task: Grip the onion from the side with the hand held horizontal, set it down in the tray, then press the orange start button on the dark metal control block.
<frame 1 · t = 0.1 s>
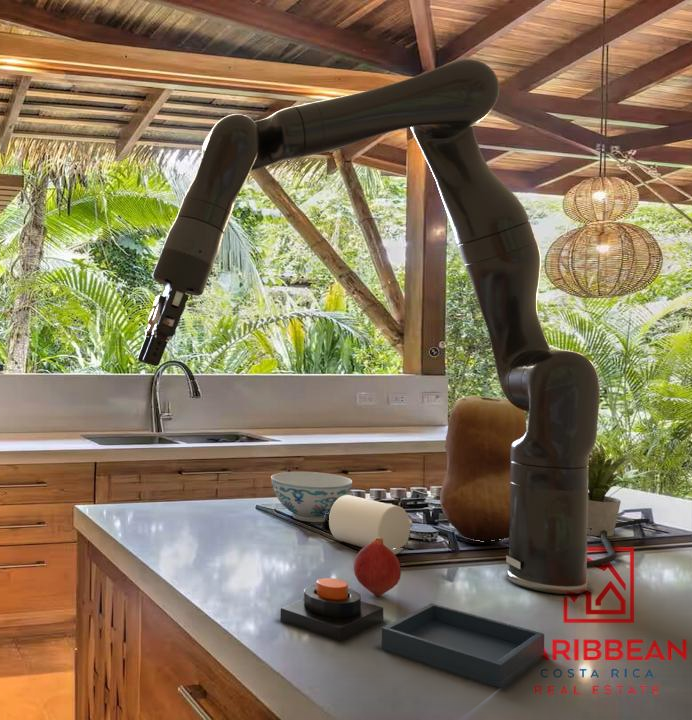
hand: (146, 363, 104), 31 cm above the table, tool tilted 20°, fingers open, 8 cm apart
mug: (376, 547, 123), on the table
tray: (462, 652, 81), on the table
onion: (376, 597, 99), on the table
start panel: (331, 621, 90), on the table
house plant: (602, 535, 130), on the table
butternut squash: (481, 542, 126), on the table
chinaware: (310, 518, 143), on the table
start button: (332, 589, 90), point 4 cm above the table, slide at 0.1 cm
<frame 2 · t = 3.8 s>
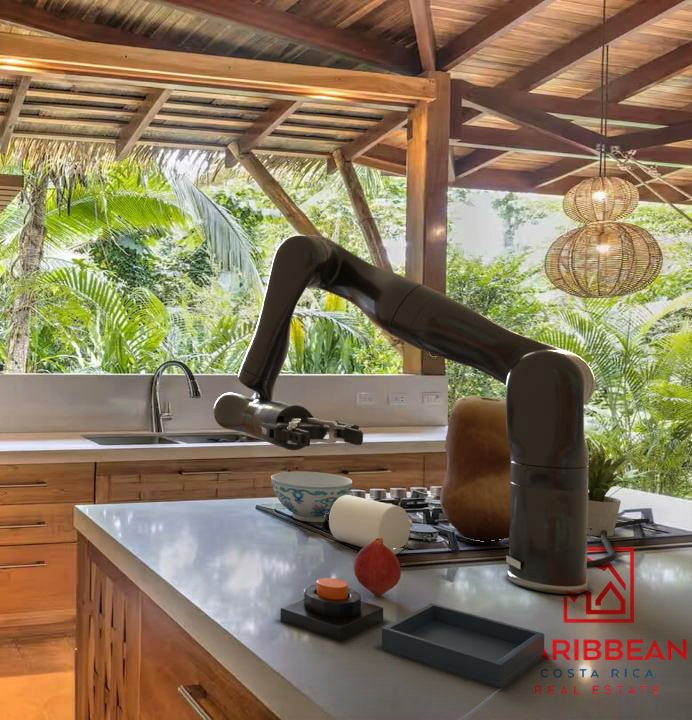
hand: (334, 438, 109), 20 cm above the table, tool horizontal, fingers open, 8 cm apart
nothing on the table moved.
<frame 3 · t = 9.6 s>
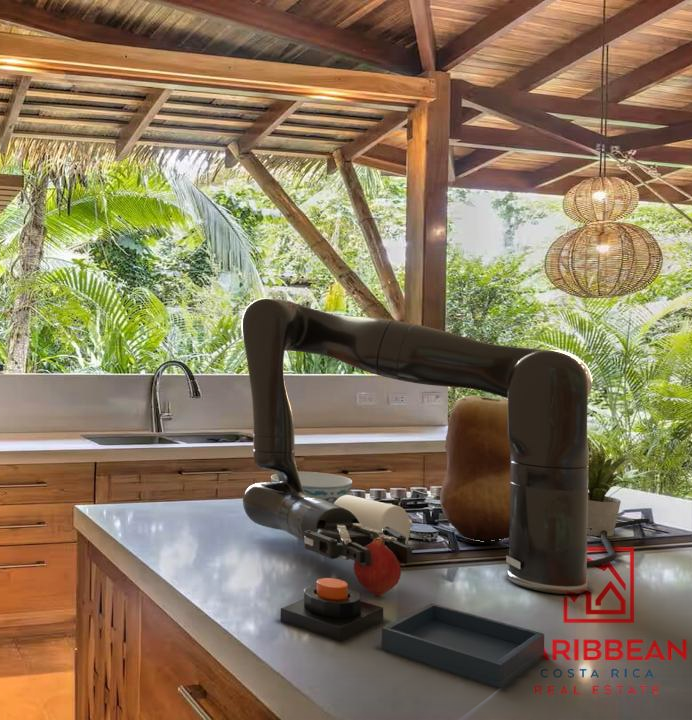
hand: (388, 557, 97), 6 cm above the table, tool horizontal, fingers closed on onion, 5 cm apart
onion: (376, 597, 99), on the table, touching gripper
everything else where it was.
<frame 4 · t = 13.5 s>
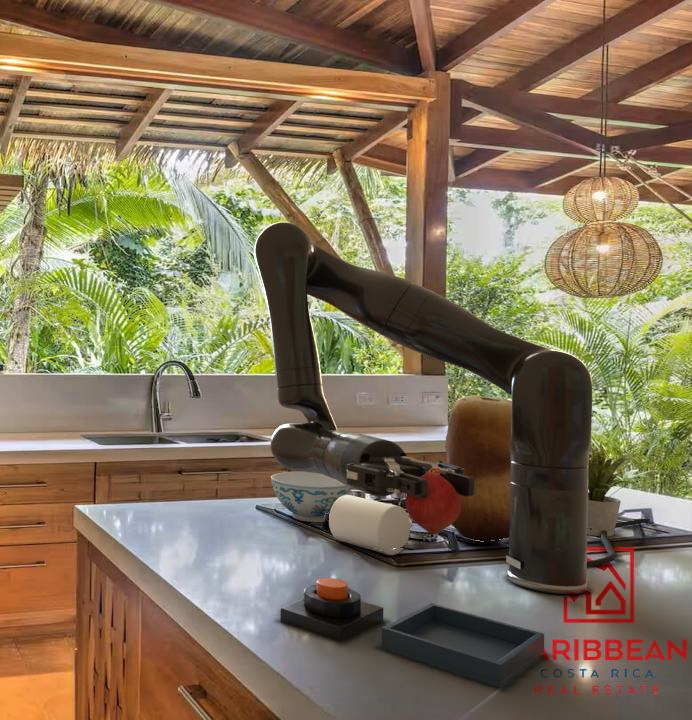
hand: (448, 488, 84), 18 cm above the table, tool horizontal, fingers closed on onion, 5 cm apart
onion: (432, 535, 87), point 12 cm above the table, touching gripper
everything else where it was.
when the fingers open (7 cm above the table, at t = 17.7 s): onion stays where it is, resting on tray.
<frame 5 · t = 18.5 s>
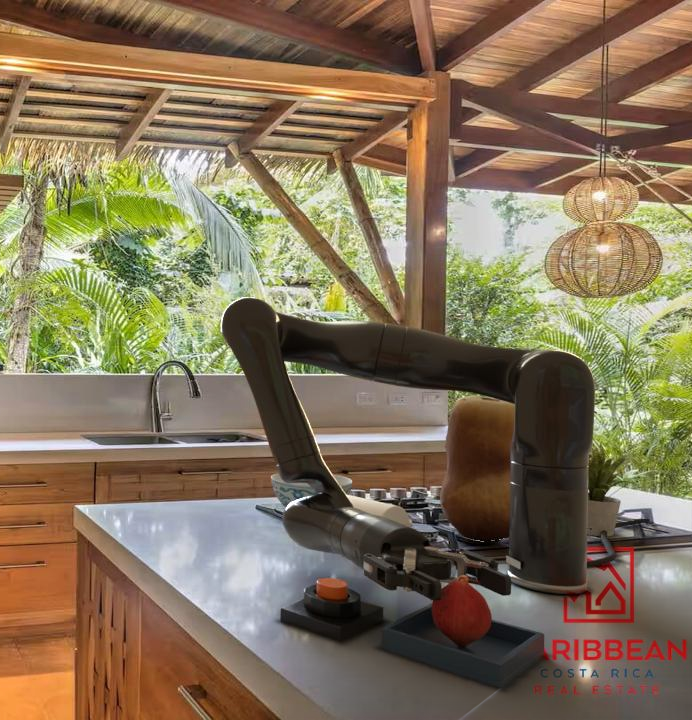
hand: (474, 589, 80), 8 cm above the table, tool horizontal, fingers open, 8 cm apart
onion: (460, 648, 81), resting on tray
everything else where it was.
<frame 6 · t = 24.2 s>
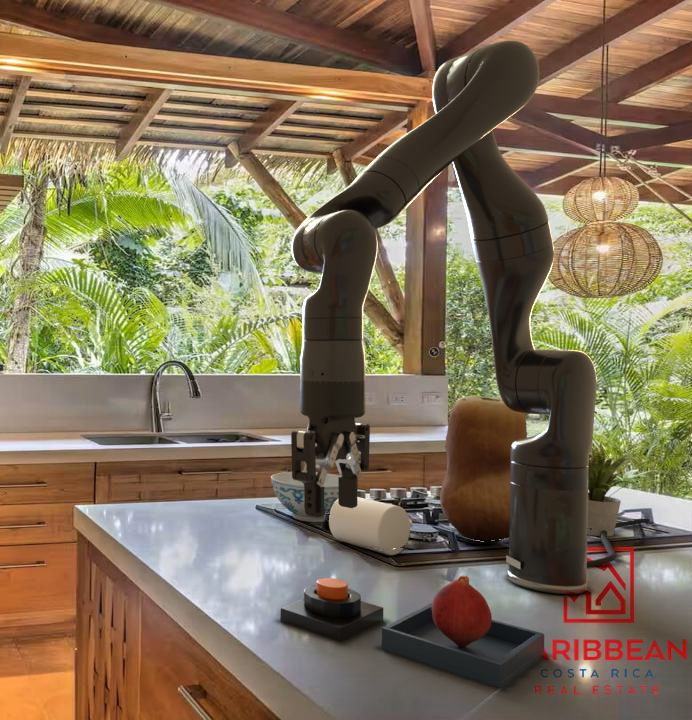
hand: (331, 511, 90), 14 cm above the table, tool pointing down, fingers open, 7 cm apart
nothing on the table moved.
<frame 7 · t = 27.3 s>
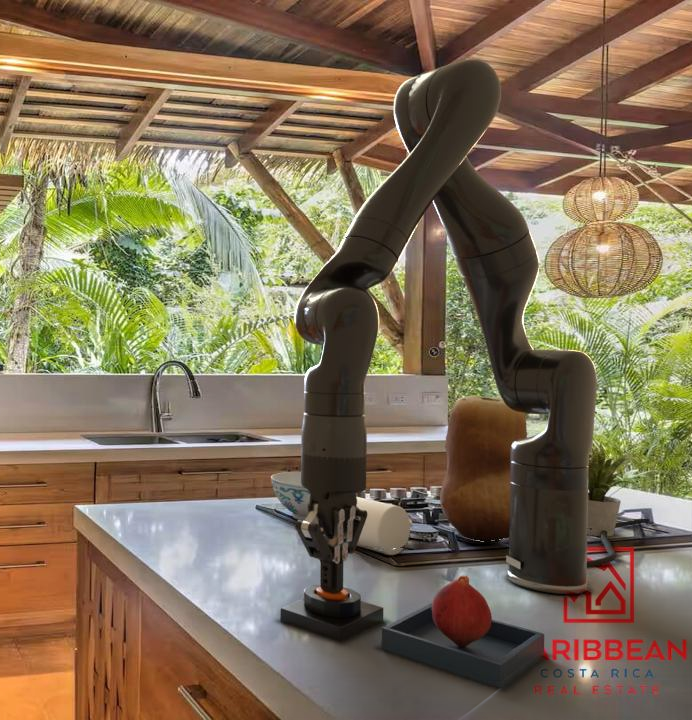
hand: (331, 590, 90), 4 cm above the table, tool pointing down, fingers closed
start button: (332, 597, 90), point 3 cm above the table, slide at -0.9 cm, touching gripper
everything else where it was.
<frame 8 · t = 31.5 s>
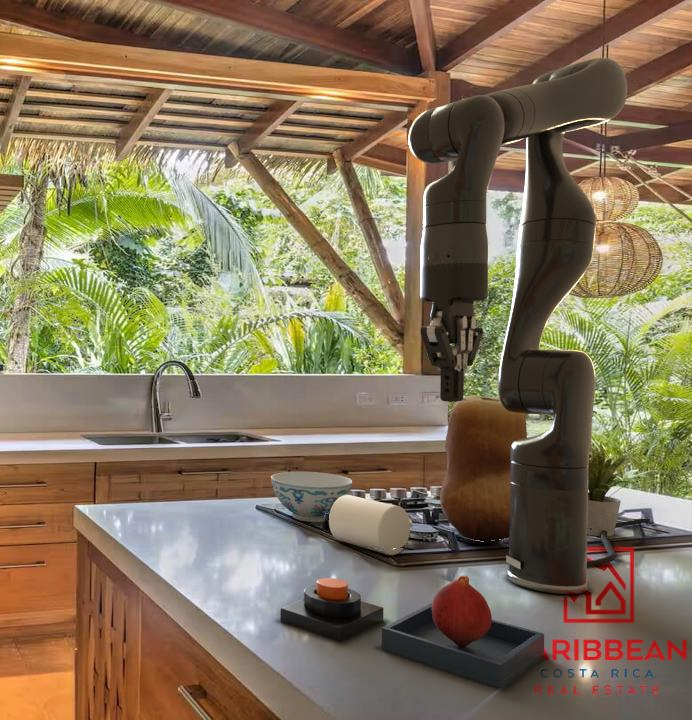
hand: (451, 401, 92), 27 cm above the table, tool pointing down, fingers closed
start button: (332, 589, 90), point 4 cm above the table, slide at 0.1 cm
everything else where it was.
at the end: onion inside the target area in the tray (0.2 cm from its centre), point 0.4 cm above the tray's base; start button pushed in 1.1 cm at the most during the clip and back out by the end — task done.
